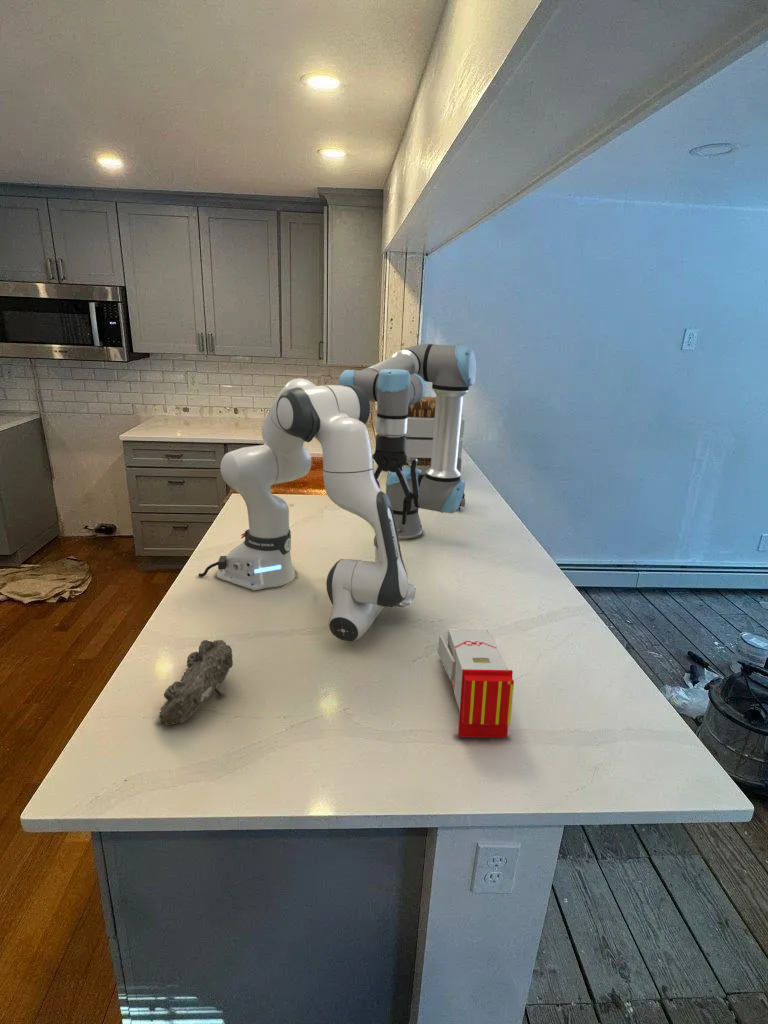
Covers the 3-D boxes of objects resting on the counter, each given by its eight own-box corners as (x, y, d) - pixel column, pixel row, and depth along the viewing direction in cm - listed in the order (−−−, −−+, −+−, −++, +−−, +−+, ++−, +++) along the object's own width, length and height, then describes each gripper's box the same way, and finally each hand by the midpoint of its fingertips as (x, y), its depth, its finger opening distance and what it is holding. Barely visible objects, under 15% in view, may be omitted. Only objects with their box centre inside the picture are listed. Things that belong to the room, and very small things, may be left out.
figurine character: (465, 515, 224) (460, 499, 237) (467, 498, 221) (462, 483, 234) (448, 515, 224) (444, 499, 237) (450, 498, 220) (445, 482, 234)
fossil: (185, 642, 124) (233, 610, 119) (215, 671, 126) (264, 641, 122) (136, 718, 104) (191, 685, 99) (173, 751, 107) (229, 720, 102)
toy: (488, 613, 130) (523, 677, 101) (484, 667, 133) (517, 744, 104) (435, 612, 130) (455, 676, 101) (432, 666, 133) (451, 743, 103)
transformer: (382, 463, 289) (386, 382, 275) (445, 464, 293) (451, 384, 279) (390, 482, 257) (394, 392, 243) (460, 483, 261) (468, 394, 247)
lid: (403, 546, 148) (403, 539, 148) (383, 551, 145) (383, 543, 144) (389, 538, 153) (389, 531, 152) (369, 543, 150) (369, 535, 149)
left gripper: (408, 595, 136) (423, 572, 149) (330, 580, 142) (351, 559, 155) (407, 618, 139) (421, 593, 151) (330, 602, 145) (350, 579, 157)
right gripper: (435, 434, 141) (429, 520, 148) (352, 428, 144) (350, 512, 151) (432, 440, 134) (426, 530, 141) (345, 433, 137) (343, 521, 144)
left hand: (385, 576), depth 153 cm, fingers closed on jar, 5 cm apart
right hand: (386, 520), depth 146 cm, fingers open, 8 cm apart
